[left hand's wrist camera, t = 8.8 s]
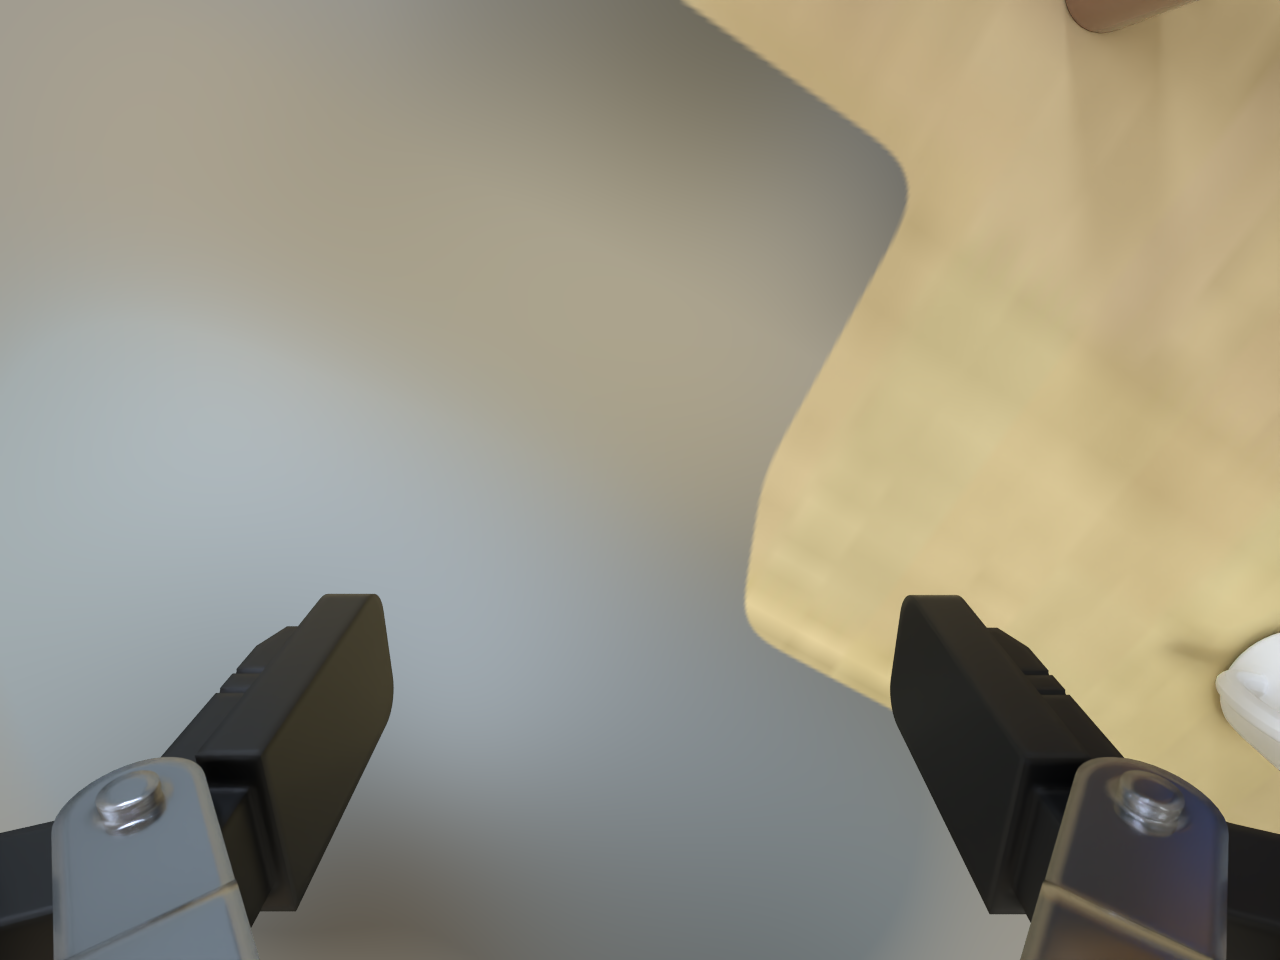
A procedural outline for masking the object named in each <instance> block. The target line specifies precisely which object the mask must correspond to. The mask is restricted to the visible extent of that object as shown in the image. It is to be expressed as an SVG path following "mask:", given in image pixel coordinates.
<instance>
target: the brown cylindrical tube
mask: <svg viewBox="0 0 1280 960" xmlns="http://www.w3.org/2000/svg"><path fill="white" fill-rule="evenodd" d="M1196 1H1199V0H1066V4H1067V7H1068V10H1069V12H1070V14H1071V16H1072V17H1073V19H1074V20H1075V21H1076V22H1077V23H1078V24H1079V25H1081V26H1082V27H1083V28H1085V29H1087V30H1090V31H1093V32H1098V33H1106V32H1112V31H1115V30H1118V29H1121V28H1124V27H1127V26H1129V25H1132V24H1135V23H1138V22H1140V21H1143V20H1146V19H1149V18H1152V17H1154V16H1157V15H1160V14H1163V13H1165V12H1168V11H1171V10H1174V9H1176V8H1179V7H1182V6H1185V5H1187V4H1190V3H1193V2H1196Z"/></svg>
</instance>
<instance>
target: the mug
mask: <svg viewBox="0 0 1280 960" xmlns="http://www.w3.org/2000/svg"><path fill="white" fill-rule="evenodd" d="M1215 685H1216V689H1217V692H1218V693H1219V694H1220V703H1221V708H1222V711H1223V714H1224V716H1225V718H1226V720H1227V721H1228V722H1229V724H1230V725H1231V726H1232V727H1233V728H1234V730H1235V731H1236V732H1237V733H1238V734H1239V735H1240V736H1241V737H1242V738H1243V739H1245V740H1246V741H1247V742H1248V743H1249V744H1250V745H1251V746H1252V747H1253V748H1255V749H1256V750H1257V751H1258V752H1259V753H1260V754H1261V755H1262V756H1264V757H1265V758H1266V759H1267V760H1268V761H1269V762H1270V763H1271V764H1273V765H1274V766H1275V767H1276V768H1277V769H1278V770H1279V771H1280V633H1277V634H1274V635H1271V636H1269V637H1266V638H1264V639H1262V640H1260V641H1258V642H1257V643H1255V644H1254V645H1252V646H1251V647H1249V648H1248V649H1247V650H1245V651H1244V652H1243V653H1242V654H1241V655H1240V656H1239V657H1238V658H1237V659H1236V660H1235V661H1234V662H1233V664H1232V665H1231V666H1230V668H1229V669H1228V670H1226V671H1223V672H1222V673H1220V674H1219V675H1218V676H1217V678H1216V682H1215Z"/></svg>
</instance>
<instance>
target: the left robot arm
mask: <svg viewBox="0 0 1280 960" xmlns="http://www.w3.org/2000/svg"><path fill="white" fill-rule="evenodd" d="M890 696H891V705H892V710H893V715H894V718H895V721H896V724H897V726H898V728H899V730H900V732H901V734H902V736H903V738H904V740H905V742H906V744H907V746H908V748H909V750H910V752H911V755H912V757H913V759H914V761H915V763H916V765H917V767H918V769H919V771H920V773H921V775H922V777H923V779H924V781H925V783H926V785H927V787H928V789H929V791H930V793H931V795H932V797H933V799H934V801H935V804H936V805H937V808H938V810H939V812H940V814H941V816H942V818H943V820H944V822H945V824H946V826H947V828H948V830H949V832H950V834H951V836H952V838H953V840H954V842H955V844H956V846H957V848H958V850H959V852H960V855H961V857H962V859H963V861H964V863H965V865H966V867H967V869H968V871H969V873H970V875H971V877H972V879H973V881H974V883H975V885H976V887H977V889H978V891H979V893H980V895H981V897H982V899H983V901H984V904H985V906H986V908H987V910H988V912H989V914H1026V915H1027V917H1028V919H1029V920H1030V922H1031V925H1030V928H1029V931H1028V935H1027V938H1026V942H1025V945H1024V949H1023V952H1022V956H1021V959H1020V960H1280V834H1276V833H1272V832H1267V831H1263V830H1258V829H1254V828H1250V827H1245V826H1241V825H1236V824H1232V823H1229V822H1226V821H1225V819H1224V817H1223V815H1222V814H1221V812H1220V811H1219V809H1218V808H1217V807H1216V806H1215V805H1214V803H1213V802H1212V801H1211V800H1210V799H1209V798H1208V797H1206V796H1205V795H1204V794H1203V793H1202V792H1201V791H1199V790H1198V789H1197V788H1195V787H1194V786H1193V785H1191V784H1190V783H1188V782H1186V781H1185V780H1183V779H1181V778H1180V777H1178V776H1176V775H1174V774H1172V773H1170V772H1168V771H1166V770H1163V769H1161V768H1159V767H1156V766H1154V765H1150V764H1147V763H1144V762H1141V761H1137V760H1132V759H1127V758H1124V757H1123V756H1122V755H1121V754H1120V752H1119V751H1118V750H1117V749H1116V748H1115V747H1114V746H1113V744H1112V743H1111V742H1110V741H1109V740H1108V739H1107V737H1106V736H1105V735H1104V734H1103V733H1102V732H1101V731H1100V729H1099V728H1098V727H1097V726H1096V725H1095V724H1094V722H1093V721H1092V720H1091V719H1090V718H1089V717H1088V716H1087V714H1086V713H1085V712H1084V711H1083V710H1082V709H1081V708H1080V706H1079V705H1078V704H1077V703H1076V702H1075V701H1074V699H1073V698H1072V697H1071V696H1070V695H1066V694H1065V689H1064V688H1063V687H1062V686H1061V684H1060V683H1059V682H1058V681H1057V680H1056V679H1055V678H1054V676H1053V675H1049V674H1048V670H1047V668H1046V667H1045V666H1044V665H1043V664H1042V663H1041V661H1040V660H1039V659H1038V658H1037V657H1036V656H1035V655H1034V653H1033V652H1032V651H1031V650H1030V649H1029V648H1028V647H1027V646H1025V645H1024V644H1022V643H1020V642H1019V641H1017V640H1016V639H1014V638H1013V637H1011V636H1009V635H1008V634H1006V633H1005V632H1003V631H1002V630H1000V629H998V628H986V626H985V625H984V624H983V623H982V621H981V620H980V619H979V618H978V616H977V615H976V614H975V613H974V612H973V610H972V609H971V608H970V607H969V605H968V604H967V603H966V602H965V600H964V599H963V598H962V597H960V596H958V595H909V596H907V597H906V598H905V599H904V601H903V603H902V607H901V612H900V619H899V626H898V633H897V640H896V647H895V654H894V661H893V668H892V675H891V683H890ZM392 702H393V675H392V668H391V661H390V654H389V647H388V640H387V633H386V625H385V619H384V611H383V606H382V602H381V600H380V598H379V597H378V596H377V595H376V594H326V595H324V596H322V597H321V598H320V600H319V601H318V602H317V603H316V605H315V606H314V607H313V608H312V610H311V611H310V612H309V613H308V615H307V616H306V617H305V618H304V620H303V621H302V622H301V623H300V625H299V626H288V627H286V628H284V629H282V630H281V631H279V632H278V633H276V634H275V635H273V636H271V637H270V638H268V639H267V640H265V641H264V642H262V643H260V644H259V645H257V646H256V647H255V648H254V649H253V651H252V652H251V653H250V654H249V655H248V656H247V658H246V659H245V660H244V661H243V662H242V663H241V665H240V666H239V667H238V668H237V672H236V674H232V675H231V676H230V677H229V678H228V680H227V681H226V682H225V683H224V684H223V685H222V687H221V688H220V693H216V694H215V695H214V696H213V697H212V698H211V699H210V701H209V702H208V703H207V704H206V705H205V706H204V708H203V709H202V710H201V711H200V712H199V713H198V714H197V716H196V717H195V718H194V719H193V720H192V722H191V723H190V724H189V725H188V726H187V727H186V728H185V730H184V731H183V732H182V733H181V734H180V735H179V737H178V738H177V739H176V740H175V741H174V742H173V744H172V745H171V746H170V747H169V748H168V749H167V750H166V752H165V753H164V754H163V755H162V756H161V757H160V758H153V759H148V760H144V761H139V762H136V763H133V764H130V765H127V766H124V767H122V768H119V769H117V770H114V771H112V772H110V773H108V774H106V775H104V776H102V777H100V778H99V779H97V780H95V781H94V782H92V783H90V784H89V785H88V786H86V787H85V788H83V789H82V790H81V791H79V792H78V793H77V794H76V795H75V796H74V797H72V798H71V799H70V800H69V801H68V802H67V803H66V805H65V806H64V807H63V808H62V809H61V811H60V812H59V814H58V815H57V817H56V819H55V821H52V822H47V823H43V824H39V825H34V826H30V827H25V828H21V829H16V830H12V831H8V832H3V833H0V960H260V959H259V956H258V952H257V949H256V945H255V942H254V938H253V935H252V932H251V927H252V925H253V923H254V921H255V919H256V918H257V916H258V914H259V912H260V911H296V910H297V908H298V906H299V904H300V902H301V900H302V898H303V896H304V894H305V892H306V889H307V887H308V885H309V883H310V881H311V879H312V877H313V875H314V873H315V871H316V869H317V867H318V865H319V863H320V861H321V858H322V856H323V854H324V852H325V850H326V848H327V846H328V844H329V842H330V840H331V838H332V836H333V834H334V831H335V829H336V827H337V825H338V823H339V821H340V819H341V817H342V815H343V813H344V811H345V809H346V807H347V805H348V803H349V800H350V799H351V796H352V794H353V792H354V790H355V788H356V786H357V784H358V782H359V780H360V778H361V776H362V774H363V772H364V770H365V767H366V765H367V763H368V761H369V759H370V757H371V755H372V753H373V751H374V749H375V747H376V745H377V743H378V741H379V739H380V737H381V734H382V732H383V730H384V728H385V726H386V724H387V722H388V719H389V716H390V712H391V708H392Z"/></svg>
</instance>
